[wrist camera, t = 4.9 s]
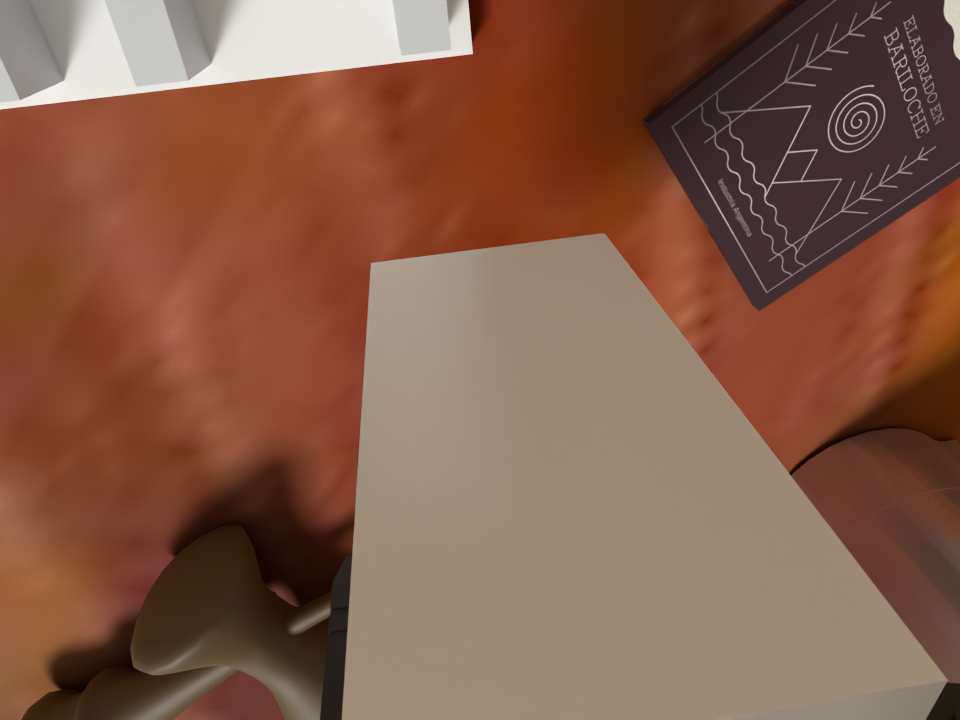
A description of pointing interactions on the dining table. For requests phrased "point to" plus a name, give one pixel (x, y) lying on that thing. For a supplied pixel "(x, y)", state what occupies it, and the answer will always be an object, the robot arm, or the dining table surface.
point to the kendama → (207, 641)
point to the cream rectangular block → (588, 518)
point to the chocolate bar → (817, 133)
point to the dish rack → (208, 42)
